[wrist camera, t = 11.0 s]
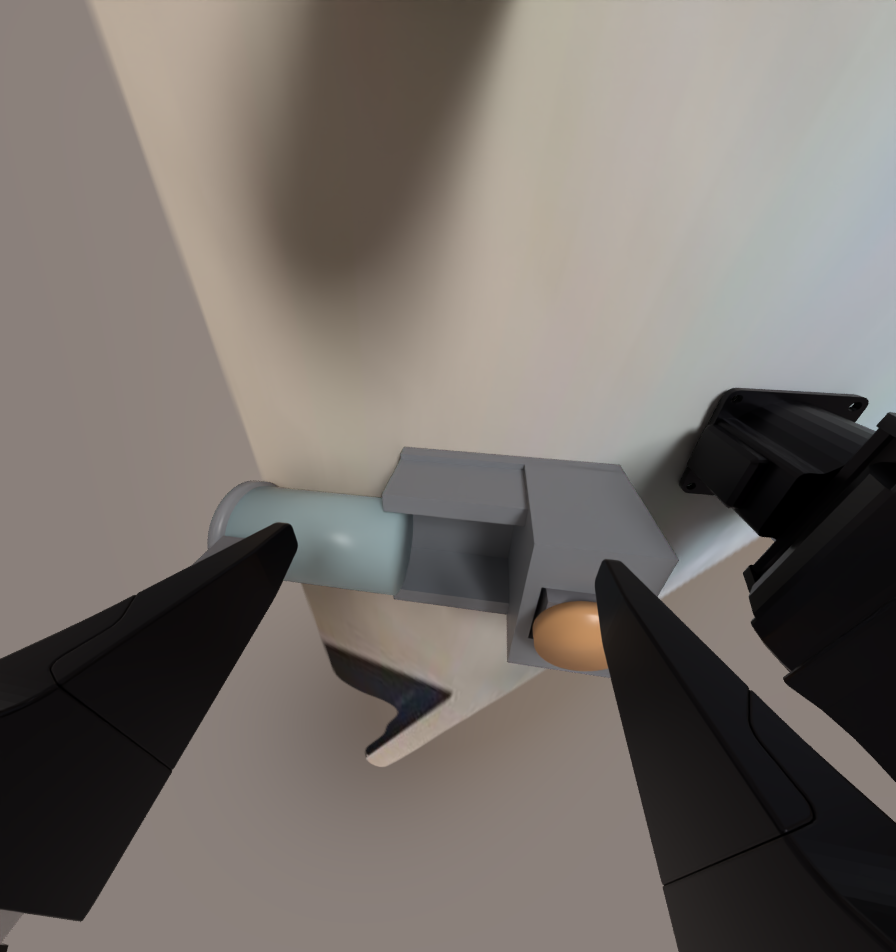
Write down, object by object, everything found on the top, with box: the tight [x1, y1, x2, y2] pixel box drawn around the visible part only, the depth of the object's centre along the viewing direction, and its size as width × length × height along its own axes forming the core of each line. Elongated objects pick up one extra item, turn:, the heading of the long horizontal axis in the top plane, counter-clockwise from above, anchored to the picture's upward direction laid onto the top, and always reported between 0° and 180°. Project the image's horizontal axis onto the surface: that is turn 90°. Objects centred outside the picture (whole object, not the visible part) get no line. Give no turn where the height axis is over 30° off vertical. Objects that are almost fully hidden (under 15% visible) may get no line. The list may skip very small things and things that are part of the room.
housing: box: [382, 447, 679, 678], centre depth 20 cm, size 14×10×8 cm
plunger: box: [533, 587, 608, 671], centre depth 17 cm, size 5×5×4 cm
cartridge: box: [193, 481, 413, 595], centre depth 20 cm, size 11×7×10 cm, turn 89°
